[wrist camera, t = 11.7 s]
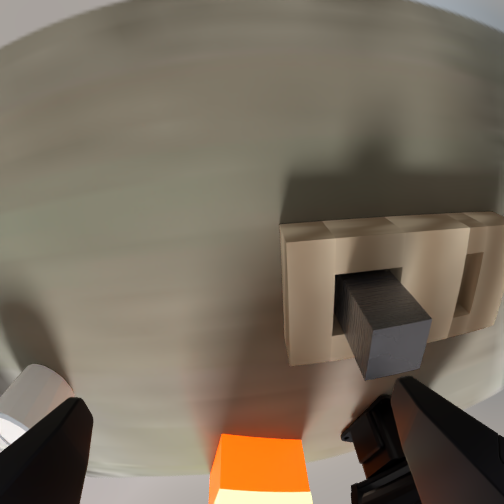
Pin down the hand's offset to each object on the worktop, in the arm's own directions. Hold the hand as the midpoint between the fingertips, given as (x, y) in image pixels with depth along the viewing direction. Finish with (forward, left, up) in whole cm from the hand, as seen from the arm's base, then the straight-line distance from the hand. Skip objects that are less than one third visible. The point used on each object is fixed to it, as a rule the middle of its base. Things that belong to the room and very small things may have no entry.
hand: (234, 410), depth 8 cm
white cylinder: (+10, +20, -12) cm, 25 cm away
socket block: (-10, -3, -12) cm, 16 cm away
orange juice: (-11, +20, -12) cm, 26 cm away
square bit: (-7, -1, -12) cm, 14 cm away
